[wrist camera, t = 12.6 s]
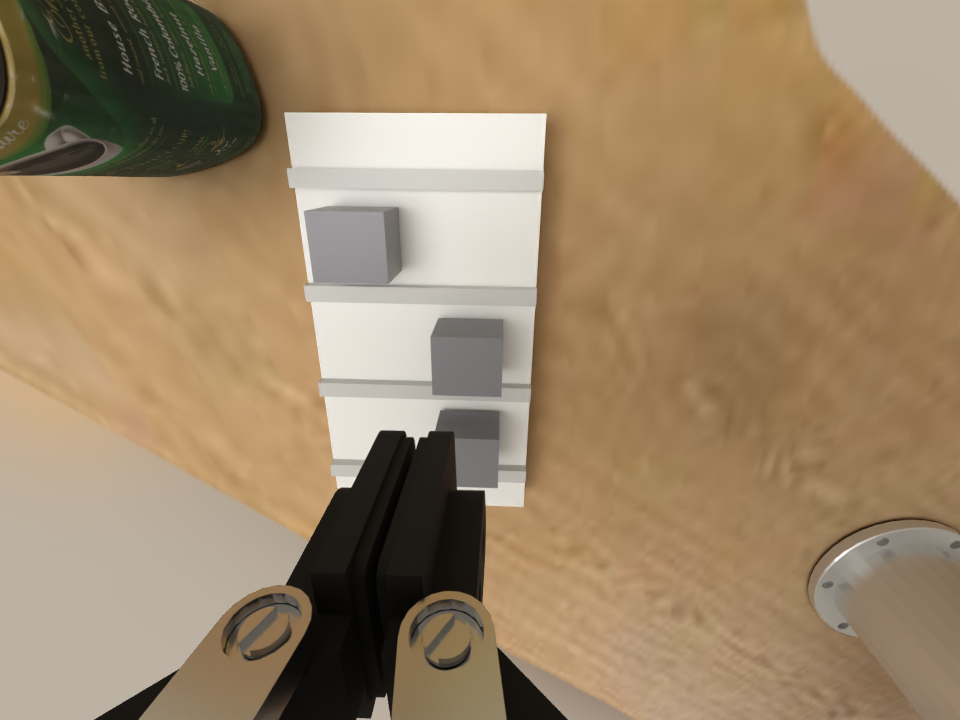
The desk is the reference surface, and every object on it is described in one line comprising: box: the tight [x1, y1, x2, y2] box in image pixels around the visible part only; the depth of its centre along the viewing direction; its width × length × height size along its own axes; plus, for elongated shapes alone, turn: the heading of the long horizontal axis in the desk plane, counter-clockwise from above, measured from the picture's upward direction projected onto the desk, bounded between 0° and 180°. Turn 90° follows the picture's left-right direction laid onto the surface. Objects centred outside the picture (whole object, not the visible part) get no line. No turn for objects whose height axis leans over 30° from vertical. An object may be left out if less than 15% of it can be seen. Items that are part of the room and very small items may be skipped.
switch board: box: [284, 112, 546, 507], centre depth 30 cm, size 14×26×3 cm, turn 179°
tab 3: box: [435, 410, 500, 488], centre depth 29 cm, size 4×4×3 cm
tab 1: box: [304, 206, 402, 284], centre depth 24 cm, size 4×4×3 cm
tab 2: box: [430, 318, 503, 397], centre depth 27 cm, size 4×4×3 cm
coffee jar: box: [0, 0, 262, 177], centre depth 18 cm, size 10×8×19 cm
